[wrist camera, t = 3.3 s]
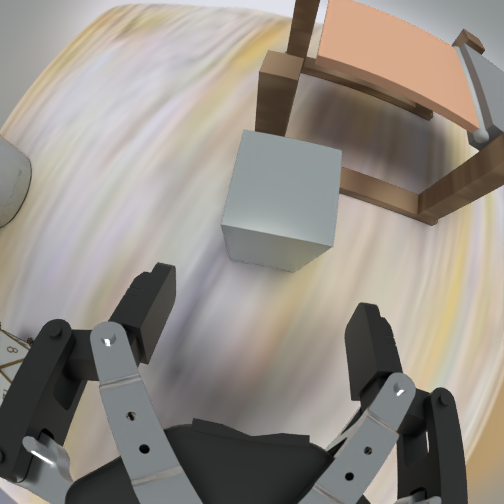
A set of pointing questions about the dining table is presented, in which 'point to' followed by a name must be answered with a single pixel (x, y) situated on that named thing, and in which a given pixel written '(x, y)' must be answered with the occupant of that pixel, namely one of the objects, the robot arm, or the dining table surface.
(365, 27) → the trapdoor
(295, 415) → the dining table surface
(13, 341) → the game die
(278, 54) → the frame
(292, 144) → the slate block
